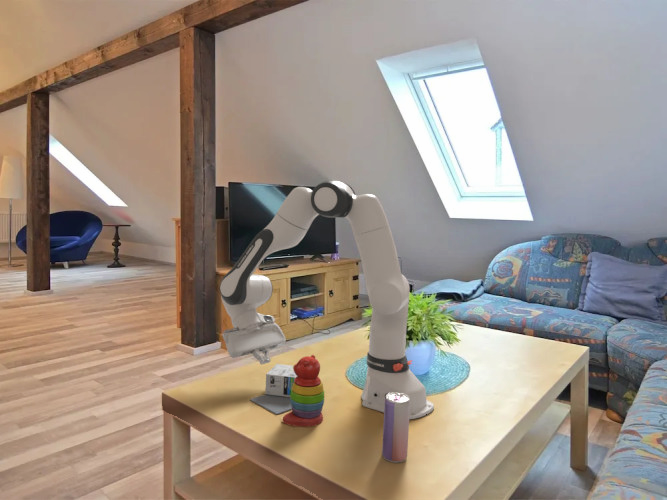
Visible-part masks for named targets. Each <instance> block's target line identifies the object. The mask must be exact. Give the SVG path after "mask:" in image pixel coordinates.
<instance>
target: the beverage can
mask: <svg viewBox="0 0 667 500" xmlns="http://www.w3.org/2000/svg"><path fill="white" fill-rule="evenodd" d="M409 414H410V401H409V397H408V396H407V395H405V394H402V393H389V394H387V395H386V399H385V406H384V412H383V427H382V428H383V429H382V445H381V446H382V447H381V449H382V451H381V455H382V457H383V458H384V459H385V460H386V461H387V462H389V461H390V463H393V462H394V464H400V463H403V462H405V461H406V460H407V458H408V447H409V446H408V445H409V428H410V427H409V426H410V419H409ZM399 462H400V463H399Z"/></svg>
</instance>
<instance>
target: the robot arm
mask: <svg viewBox="0 0 667 500" xmlns="http://www.w3.org/2000/svg"><path fill="white" fill-rule="evenodd" d="M386 214H387V213H386V212H385V210H384V207H383V205H382V203H381V202H380V200H379V198H378V197H377V196H376V195H374V194H370V193H365V194H364V193H363V194H359V195H356V193H355V191H354V189H353V187H352V186H350V185H349V184H347V183H345V182H341V181H339V180H324V181H322V182H320V183H318V184H317V185H315V186H314V188H313V189H311V188H309V187H306V186H297V187H295V188H293V189H292V190H291V191H290V192H289V194H288V195H287V196H286V198H285V199H284V201H283V202H282V203H281V205H280V207H279V208H278V210H277V212H276V214H275V215H274V217H273V218H272V220H271V221H270V222H269V223H268V224H267V225H266V226H265V227H264V228H263V229H262V230H260V231H259V232H258V233H257V234H256V235H255V236H254V238H253V239H252V240H251V242H249V244H248V246H247V247H246V248H245V250H244V251H243V253H242V254H241V256H240V257H239V259H238V260H237V262H236V263H235V264H234V266H233V267H232V268H231V269H230V270H229V271H228V272H226V273H225V275H224V276H223V277H222V279H221V280H220V283H219V294H220V298H221V301H222V304H223V306H224V308H225V309H224V310H225V311H226V313H227V315H228V316H229V318H230V319H231V324H232V327H233V328H230V329H229V328H228V329H225V330H224V331H223V332H222V339H223V340H224V342H225V347H226V351H227V353H228V356H229V357H231V359H235V358H239V357H240V358H241V357H245V356H248V355H252V356H253V357H254V358H255V359H256V360H257V361H258V362H259V364H260V365H265V364H269V363H270V362H271V360H272V359H271V358H270V350H272V349H277V348H281V347H282V346H283V345H285V343H286V336H285V333H283V330H282V328H281V326H279V325H278V324H277V323H276V319H275V317H274V316H273V315H267V314H263V313H258V311H257V308H259V307H261V306H263V305H265V304H266V303H267V302H268V301H270V300H271V298H272V295H273V291H274V288H273V283H272V281H271V279H270V278H269V277H268V276H266V275H262V274H256V273H255V272H256V270H257V269H258V267H260V265H261V264H262V261H264V260H265V258H266V257H267V256H269V255H271V254H273V253H275V252H279V251H282V250H287V249H292V248H294V247H296V246H298V245H299V244H300V242H301V241H302V240H303V239H304V237H305V236H306V234H307V232H308V231H309V229H310V227H311V225H312V223H313V222H314V220H315V219H316V218H317V217H318V216H322V217H325V218H331V219H332V218H333V219H334V218H336V219H337V218H342V219H344V218H346V219H347V220H348V222H349V224H350V226H351V230H352V232H353V233H352V234H353V237H354V240H355V244H356V247H357V250H358V254H359V257H360V261H361V266H362V271H363V277H364V282H365V288H366V291H367V295H368V301H369V304H370V306H371V308H372V309H371V310H372V311H371V318H370V325H369V339H368V341H369V342H368V352H367V355H366V365H367V370H366V371H367V372H366V375H365V376H366V377H365V382H364V386H363V390H362V393H361V396H360V397H361V399H362V406H363V407H365V408H368V409H371V410H373V411H374V410H375V411H376V412H377V411H378V412H381V413H384V406H385V399H386V395H387V394H389V393H402V394H405V395H407V396H408V397H409V401H410V414H409V420H414V419H415V420H416V419H418V418H422V417H424V416H427V415H429V414H430V413H432V412H433V411H434V408H435V405H434V403H433V402H431V401H429V400H428V399H427V391H426V390H427V389H426V387H425V385H424V384H423V383H422V382H421V381H420V380H419V378H418V377H417V376H416V375H415V374H414V373H413V372H412V371H411V369H410V365H412V364H413V363H412V362H413V360H408V359H407V358H408V357H407V354H406V341H407V325H408V317H409V316H408V315H409V314H408V313H409V303H410V291H411V290H410V289H411V287H410V283H409V281H408V279H407V278H406V276H405V275H403V274H402V270H401V266H400V262H399V261H400V260H399V256H398V251H397V247H396V243H395V240H394V236H393V233H392V229H391V227H390V224H389V220H388V217H387V215H386ZM254 273H255V274H254ZM260 353H262V354H264V356H263V355H261V354H260ZM426 414H427V415H426Z"/></svg>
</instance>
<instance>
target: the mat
mask: <svg viewBox="0 0 667 500" xmlns="http://www.w3.org/2000/svg"><path fill="white" fill-rule="evenodd" d="M290 398H291V397H284V396H276V395H268V394H265V393H264V394H262V395H258V396H255V397H252V398H250V401H251V402H253V403H254V404H256V405H257V406H260V407H262V408H264V409H266V410H267V411H268V412H271V413H272V414H274V415H276V416H278V415H281V414H285V413H287V412H291V411H292V407H291V400H290Z"/></svg>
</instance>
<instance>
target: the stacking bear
mask: <svg viewBox="0 0 667 500" xmlns="http://www.w3.org/2000/svg"><path fill="white" fill-rule="evenodd" d="M293 366H294V367H293V369H294V372H295V374H296V375H297V377H296V378H295V379H294V383H293V386H292V390H291V395H290V397H291V398H290V400H291V407H292V410H291V411H289V412H288V413H286V414H285V415H283V417H282V423H284V424H286V425H289V426H294V427H300V428H301V427H303V428H306V427H315V426H318V425H319V424H321V423H322V422H323V421H324V416H323V413H322V411H323V407H324V403H325V390H324V384H323V382H322V380H321V378H320V377H319V374H320V372H321V364H320V362H319V360H318V359H316V356H315V355H314V354H311V355H310V356H303V357H300V359H299V360H298V361H297V362H296V363H295V364H294V365H293Z"/></svg>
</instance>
